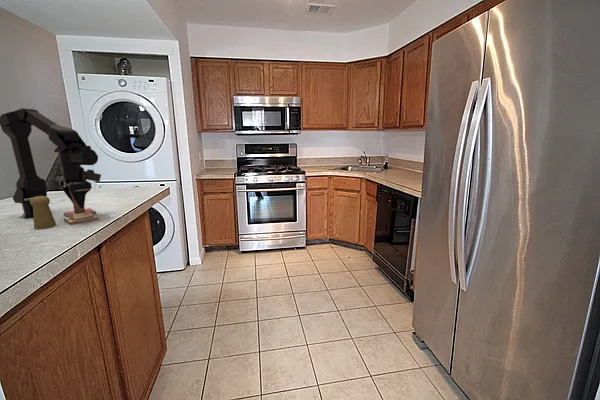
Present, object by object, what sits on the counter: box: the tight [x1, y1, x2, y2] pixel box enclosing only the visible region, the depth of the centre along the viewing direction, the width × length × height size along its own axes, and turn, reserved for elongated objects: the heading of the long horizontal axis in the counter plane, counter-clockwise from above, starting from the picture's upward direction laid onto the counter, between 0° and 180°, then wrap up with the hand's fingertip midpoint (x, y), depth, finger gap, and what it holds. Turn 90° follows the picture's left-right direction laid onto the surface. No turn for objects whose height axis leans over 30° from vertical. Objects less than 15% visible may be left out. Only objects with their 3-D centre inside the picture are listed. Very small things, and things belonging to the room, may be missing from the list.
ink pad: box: [63, 207, 98, 218], centre depth 118 cm, size 9×9×1 cm
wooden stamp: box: [70, 195, 90, 220], centre depth 109 cm, size 5×5×9 cm
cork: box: [30, 196, 57, 230], centre depth 101 cm, size 6×6×11 cm
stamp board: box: [63, 213, 100, 226], centre depth 110 cm, size 9×9×1 cm
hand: (78, 206), depth 109 cm, fingers open, 9 cm apart
